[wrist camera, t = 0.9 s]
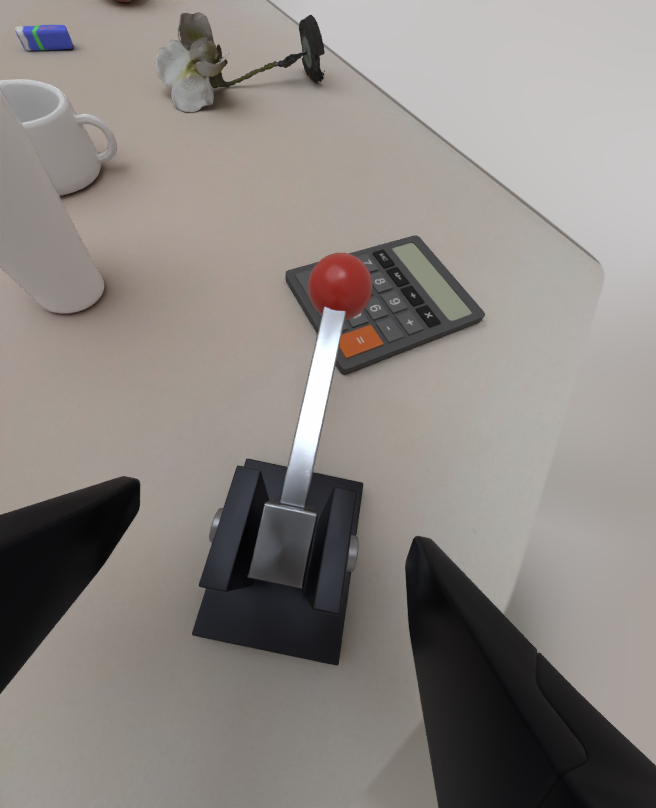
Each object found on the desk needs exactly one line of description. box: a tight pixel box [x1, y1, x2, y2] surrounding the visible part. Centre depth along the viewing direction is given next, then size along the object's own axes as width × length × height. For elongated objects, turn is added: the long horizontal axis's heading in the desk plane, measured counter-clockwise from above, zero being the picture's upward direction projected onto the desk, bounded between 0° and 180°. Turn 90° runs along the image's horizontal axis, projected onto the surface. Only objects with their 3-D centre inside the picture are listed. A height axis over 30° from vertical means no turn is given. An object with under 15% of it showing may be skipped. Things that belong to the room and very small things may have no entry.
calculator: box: [286, 236, 485, 374], centre depth 31 cm, size 12×1×15 cm
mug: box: [0, 79, 117, 196], centre depth 33 cm, size 12×10×6 cm
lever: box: [247, 253, 373, 588], centre depth 16 cm, size 15×3×3 cm, turn 169°
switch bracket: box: [192, 459, 363, 665], centre depth 17 cm, size 10×8×10 cm
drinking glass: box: [0, 88, 104, 314], centre depth 22 cm, size 7×7×15 cm
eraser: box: [16, 25, 73, 51], centre depth 47 cm, size 2×6×2 cm, turn 111°
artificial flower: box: [155, 13, 325, 112], centre depth 44 cm, size 9×22×10 cm, turn 117°
